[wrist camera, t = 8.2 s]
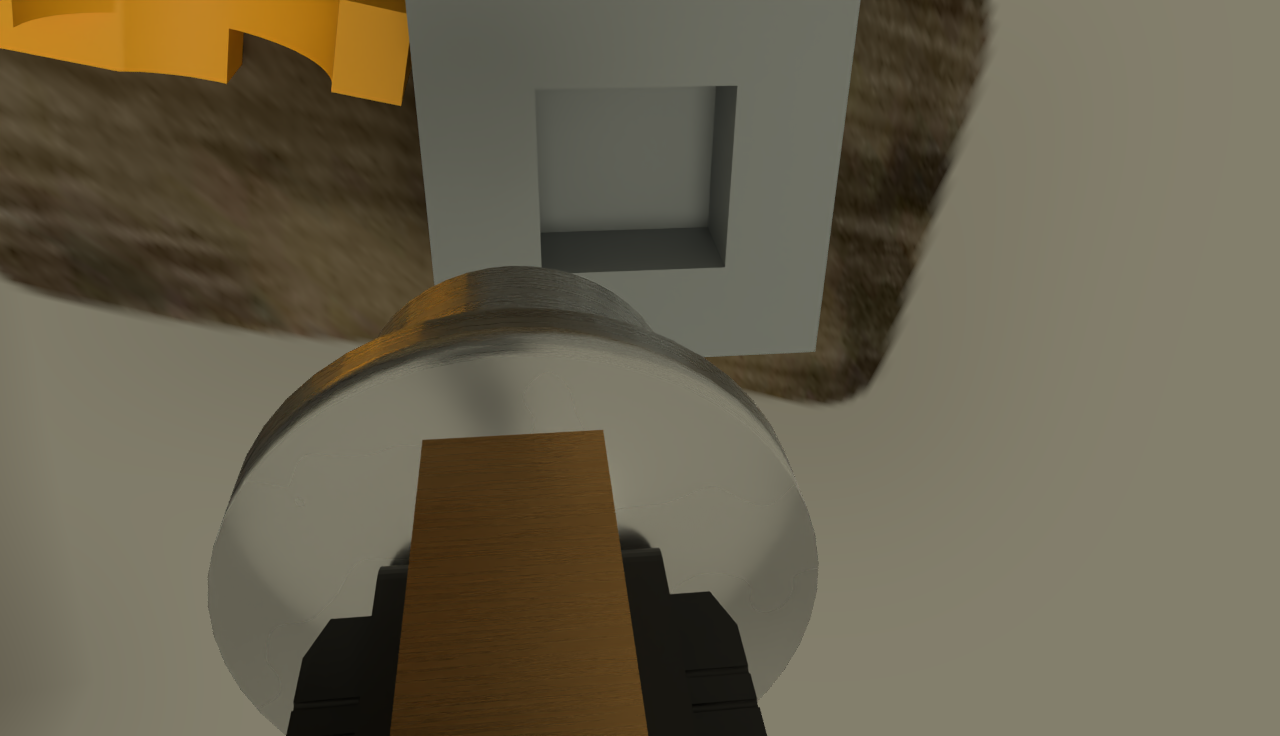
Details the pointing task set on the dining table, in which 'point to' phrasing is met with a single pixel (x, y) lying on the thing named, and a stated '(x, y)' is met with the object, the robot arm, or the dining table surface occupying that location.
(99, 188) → the dining table surface
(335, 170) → the dining table surface
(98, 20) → the pipe clamp
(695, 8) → the bearing housing
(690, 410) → the end cover
